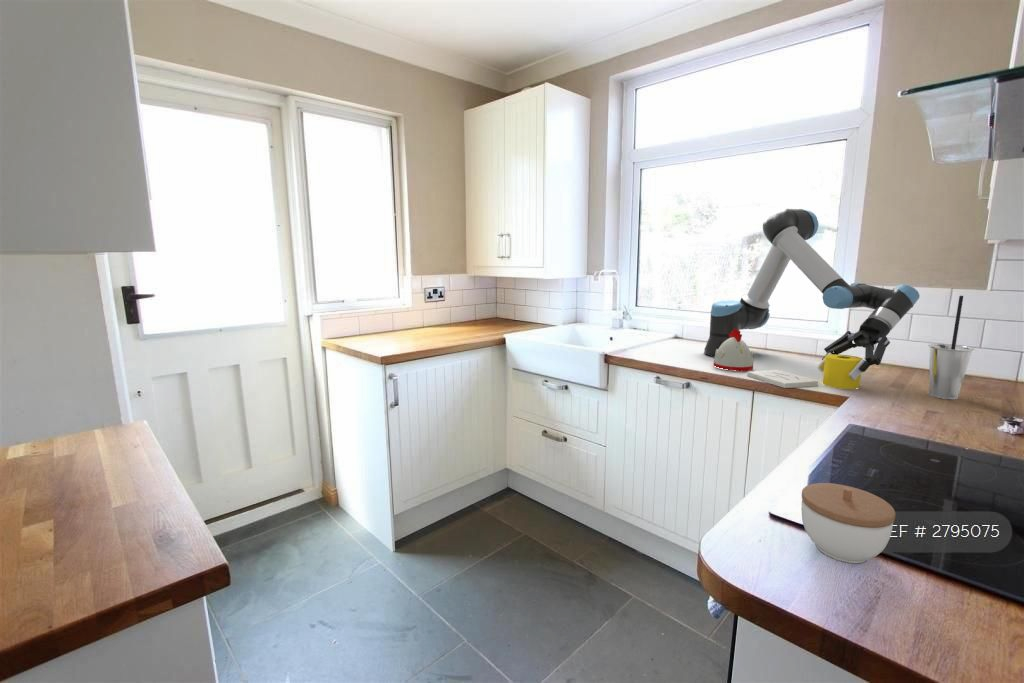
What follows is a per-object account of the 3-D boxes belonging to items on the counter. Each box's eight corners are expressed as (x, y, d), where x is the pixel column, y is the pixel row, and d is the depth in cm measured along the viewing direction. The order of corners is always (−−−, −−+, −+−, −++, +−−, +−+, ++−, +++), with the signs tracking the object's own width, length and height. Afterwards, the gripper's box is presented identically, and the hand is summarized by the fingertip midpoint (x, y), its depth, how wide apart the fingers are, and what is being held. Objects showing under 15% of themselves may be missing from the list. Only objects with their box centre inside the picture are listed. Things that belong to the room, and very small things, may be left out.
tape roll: (865, 390, 149) (868, 361, 147) (829, 388, 151) (832, 359, 150) (850, 382, 158) (854, 355, 157) (817, 380, 161) (820, 353, 159)
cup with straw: (947, 391, 147) (961, 295, 141) (978, 402, 135) (996, 298, 130) (909, 390, 148) (923, 295, 143) (938, 401, 137) (953, 298, 131)
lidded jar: (788, 524, 74) (794, 468, 72) (868, 535, 71) (876, 477, 69) (809, 566, 64) (816, 502, 62) (904, 581, 61) (914, 514, 59)
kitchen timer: (723, 371, 175) (726, 332, 173) (707, 363, 189) (709, 326, 186) (760, 371, 176) (763, 331, 173) (741, 363, 189) (744, 326, 187)
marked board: (747, 375, 168) (747, 371, 168) (778, 373, 171) (778, 369, 171) (784, 388, 152) (784, 383, 152) (817, 385, 155) (818, 380, 154)
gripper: (921, 337, 144) (875, 389, 143) (851, 327, 167) (810, 372, 166) (910, 321, 142) (863, 374, 141) (840, 313, 165) (799, 358, 164)
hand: (834, 373), depth 154 cm, fingers open, 11 cm apart
